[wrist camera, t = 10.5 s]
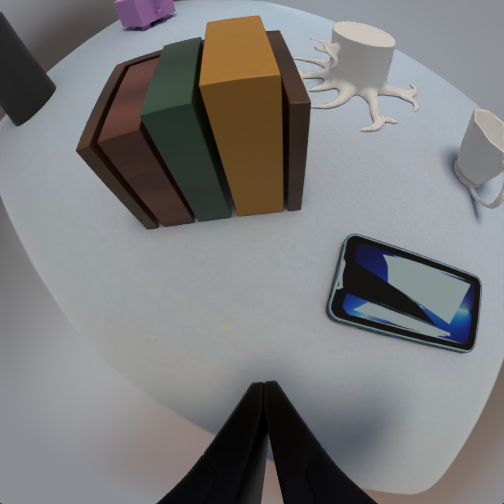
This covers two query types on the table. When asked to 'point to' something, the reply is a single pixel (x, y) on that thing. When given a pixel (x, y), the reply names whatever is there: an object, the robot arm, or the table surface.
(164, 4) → the teapot
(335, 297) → the smartphone
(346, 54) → the tree stump
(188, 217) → the bookshelf
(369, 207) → the table surface
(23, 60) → the vase
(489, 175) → the cup
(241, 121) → the ochre book
